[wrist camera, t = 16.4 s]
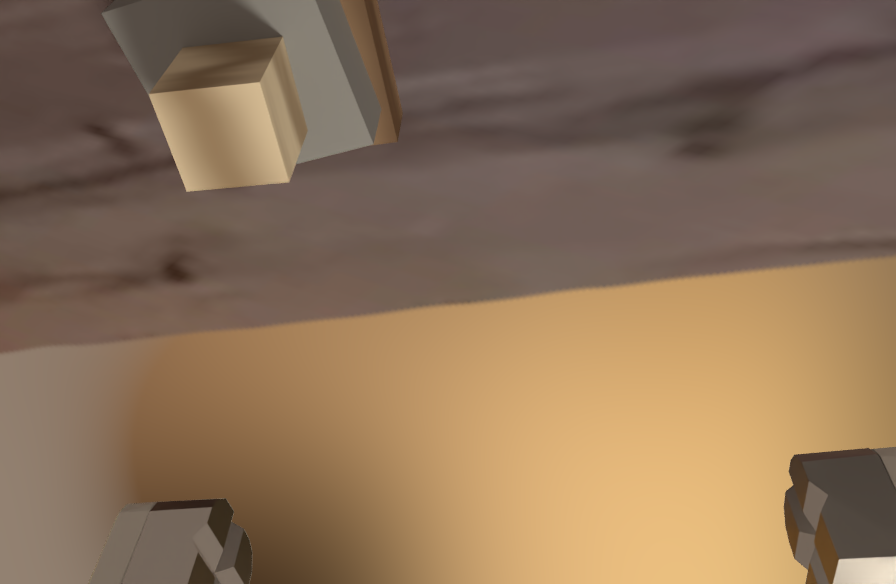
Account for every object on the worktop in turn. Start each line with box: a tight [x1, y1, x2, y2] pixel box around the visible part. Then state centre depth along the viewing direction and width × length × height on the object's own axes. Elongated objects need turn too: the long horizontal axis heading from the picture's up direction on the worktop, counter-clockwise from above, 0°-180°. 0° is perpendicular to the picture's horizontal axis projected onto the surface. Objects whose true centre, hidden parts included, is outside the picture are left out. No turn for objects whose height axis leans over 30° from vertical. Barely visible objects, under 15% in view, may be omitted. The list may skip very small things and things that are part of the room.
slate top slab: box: [101, 0, 381, 164], centre depth 41 cm, size 10×10×4 cm
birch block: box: [149, 37, 308, 191], centre depth 38 cm, size 5×5×5 cm
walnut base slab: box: [340, 0, 403, 145], centre depth 44 cm, size 12×12×4 cm
